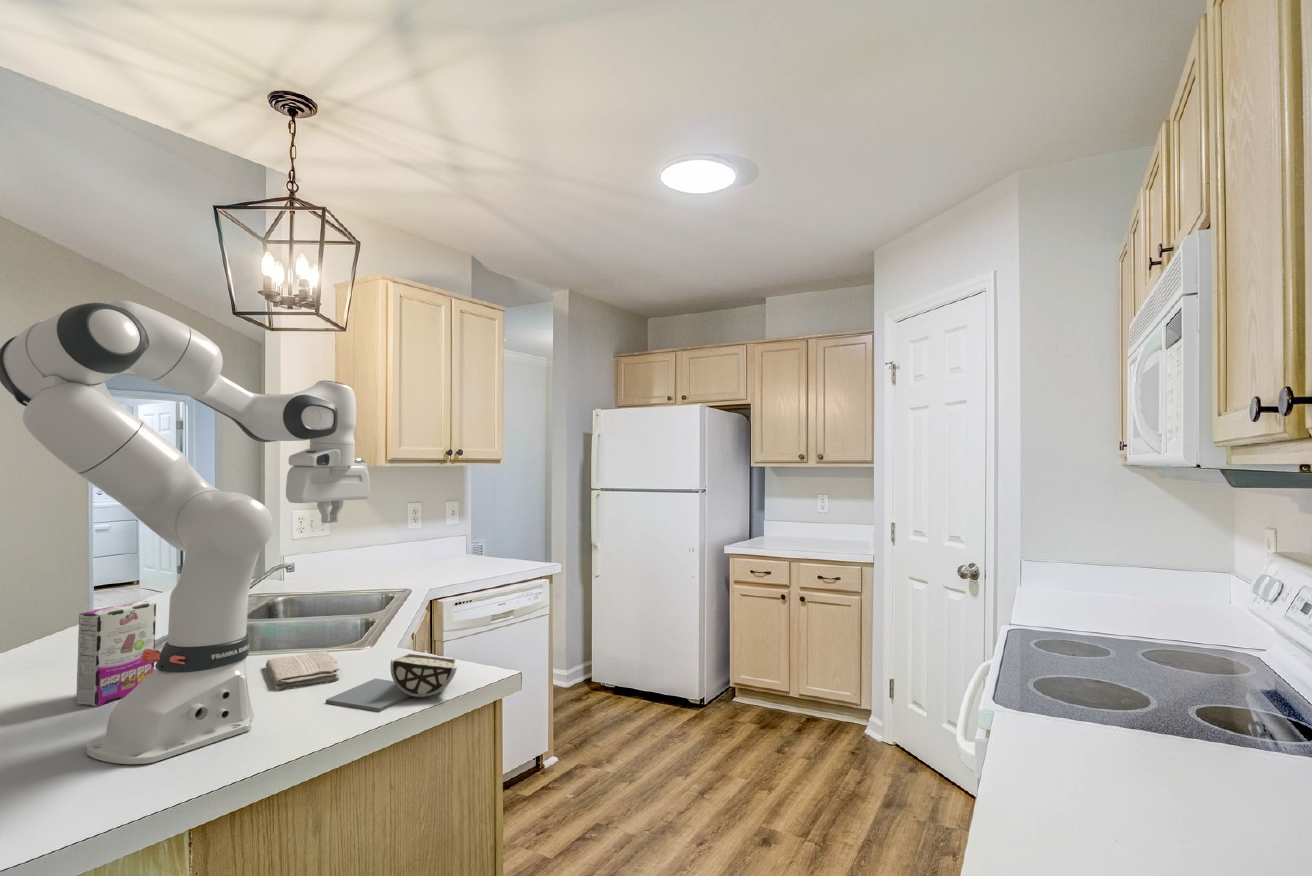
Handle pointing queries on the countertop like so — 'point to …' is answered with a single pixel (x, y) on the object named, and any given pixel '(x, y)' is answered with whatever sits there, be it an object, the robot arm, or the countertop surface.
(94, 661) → the candy bar box
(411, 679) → the food container
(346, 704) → the mat
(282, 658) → the washcloth
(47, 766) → the countertop surface
